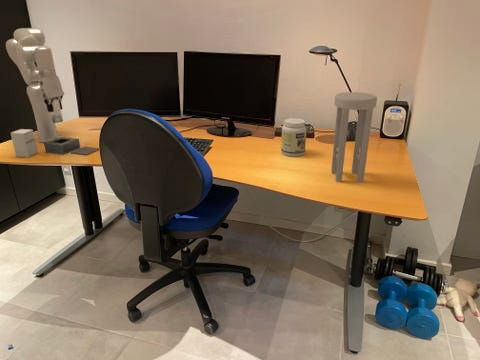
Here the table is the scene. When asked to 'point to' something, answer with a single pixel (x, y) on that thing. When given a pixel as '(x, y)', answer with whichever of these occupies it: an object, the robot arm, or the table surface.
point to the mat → (85, 150)
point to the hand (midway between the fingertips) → (55, 110)
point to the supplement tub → (293, 137)
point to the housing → (62, 145)
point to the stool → (365, 107)
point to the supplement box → (24, 143)
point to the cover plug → (56, 111)
